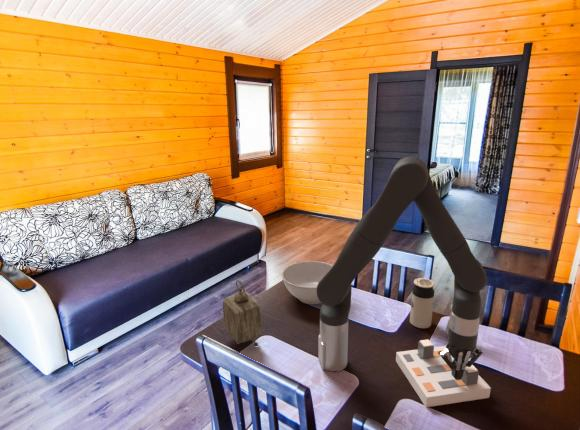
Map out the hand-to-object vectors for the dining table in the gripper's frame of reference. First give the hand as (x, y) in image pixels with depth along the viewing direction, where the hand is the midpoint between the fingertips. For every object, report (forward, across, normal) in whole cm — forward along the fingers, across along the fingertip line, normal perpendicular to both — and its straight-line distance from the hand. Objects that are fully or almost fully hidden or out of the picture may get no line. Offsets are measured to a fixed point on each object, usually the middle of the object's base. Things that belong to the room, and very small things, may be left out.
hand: (456, 377), depth 106 cm
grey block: (+1, +4, 0) cm, 4 cm away
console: (+6, -1, +7) cm, 9 cm away
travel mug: (+6, +8, +36) cm, 37 cm away
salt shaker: (+6, +16, +26) cm, 31 cm away
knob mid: (+1, +4, +7) cm, 8 cm away
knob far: (+1, -3, +13) cm, 13 cm away
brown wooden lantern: (+6, -62, +37) cm, 72 cm away
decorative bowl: (+6, -30, +64) cm, 71 cm away
